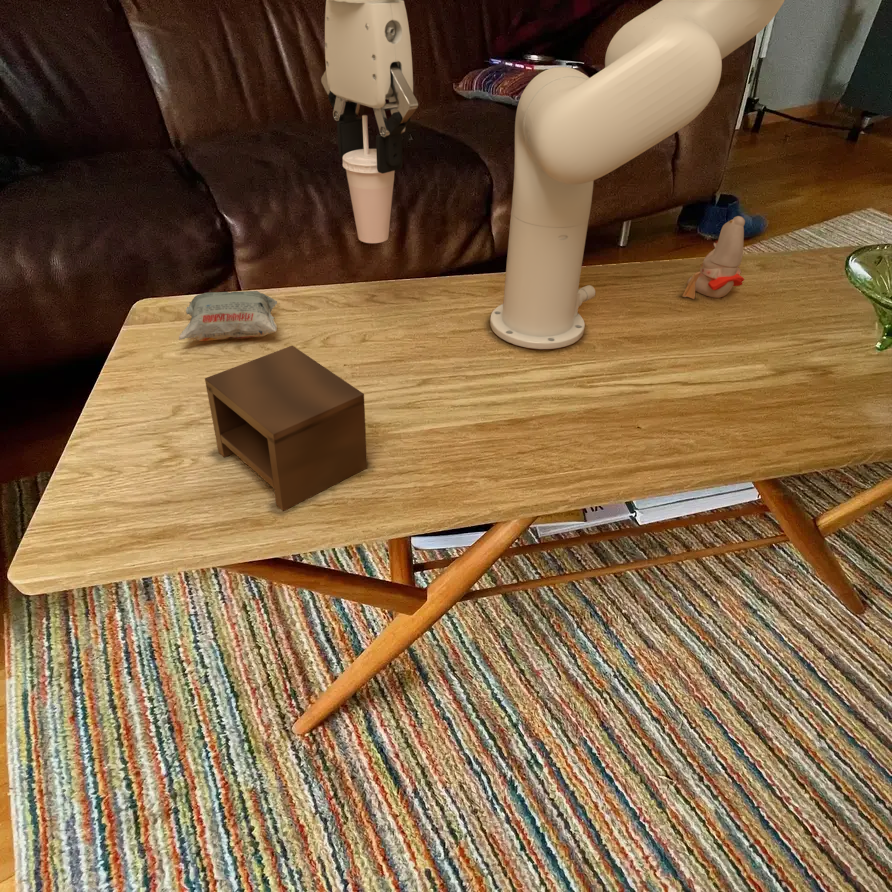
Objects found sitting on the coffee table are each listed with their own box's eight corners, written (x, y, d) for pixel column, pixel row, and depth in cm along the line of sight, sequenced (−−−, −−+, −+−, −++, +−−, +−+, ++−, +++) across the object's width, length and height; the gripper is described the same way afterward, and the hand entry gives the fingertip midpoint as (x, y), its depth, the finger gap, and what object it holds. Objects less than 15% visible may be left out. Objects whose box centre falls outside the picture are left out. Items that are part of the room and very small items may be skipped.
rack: (299, 416, 84) (292, 345, 78) (367, 468, 77) (364, 393, 72) (218, 452, 78) (204, 378, 73) (283, 511, 71) (273, 434, 66)
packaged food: (278, 347, 96) (274, 311, 93) (181, 352, 94) (173, 316, 91) (278, 316, 103) (275, 282, 100) (188, 320, 101) (181, 286, 98)
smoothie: (372, 223, 97) (367, 106, 88) (410, 236, 93) (408, 116, 85) (336, 238, 93) (327, 116, 84) (373, 252, 90) (368, 127, 81)
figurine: (708, 276, 117) (741, 203, 109) (741, 299, 113) (777, 225, 105) (668, 286, 113) (699, 211, 105) (701, 310, 109) (735, 234, 101)
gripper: (447, -12, 74) (444, 175, 85) (341, -28, 84) (351, 140, 95) (387, -6, 70) (392, 189, 81) (283, -24, 80) (300, 152, 91)
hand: (370, 161), depth 88 cm, fingers closed on smoothie, 6 cm apart
